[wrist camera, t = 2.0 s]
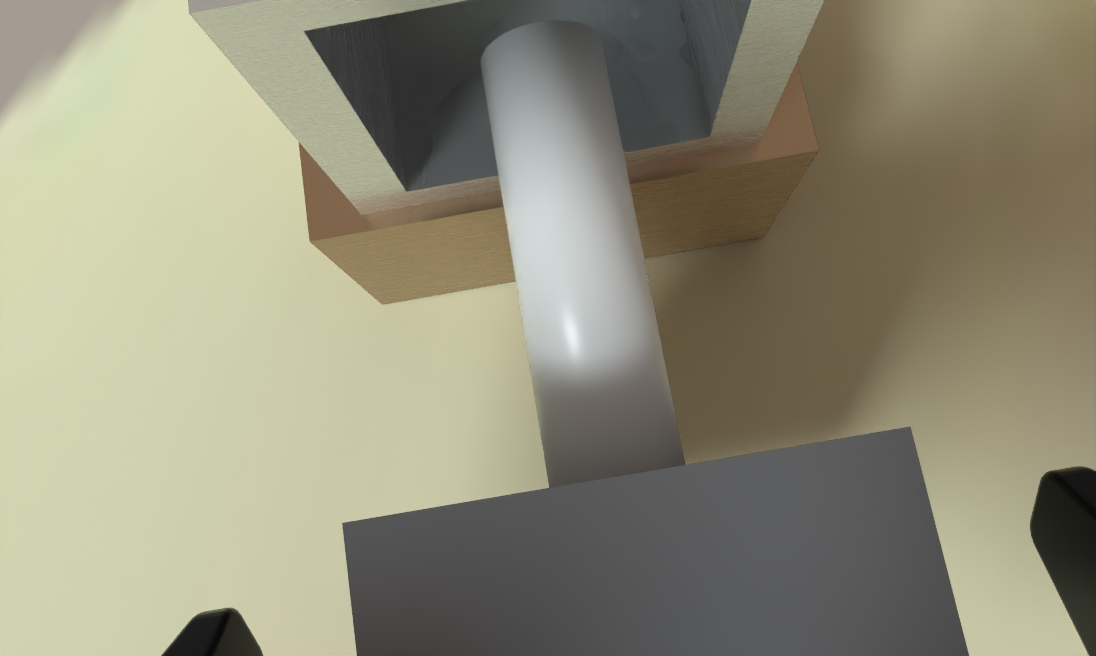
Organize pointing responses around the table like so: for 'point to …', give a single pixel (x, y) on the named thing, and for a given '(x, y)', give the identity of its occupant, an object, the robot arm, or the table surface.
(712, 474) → the plunger
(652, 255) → the grey brown block
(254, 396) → the table surface
